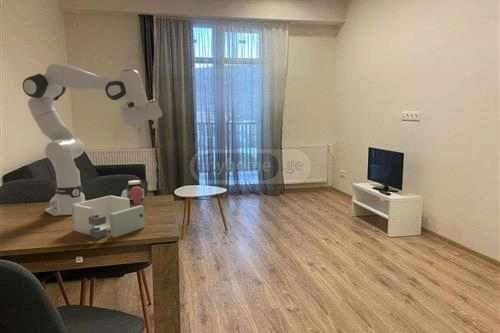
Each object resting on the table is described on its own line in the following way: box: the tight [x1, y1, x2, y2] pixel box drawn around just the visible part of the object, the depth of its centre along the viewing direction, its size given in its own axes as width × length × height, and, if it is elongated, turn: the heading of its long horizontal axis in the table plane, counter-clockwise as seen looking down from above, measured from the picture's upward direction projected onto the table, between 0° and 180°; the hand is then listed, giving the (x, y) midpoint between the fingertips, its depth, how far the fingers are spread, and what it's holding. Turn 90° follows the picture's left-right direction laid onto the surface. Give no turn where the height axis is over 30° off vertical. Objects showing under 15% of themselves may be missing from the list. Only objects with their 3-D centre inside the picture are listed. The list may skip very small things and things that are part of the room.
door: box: [110, 204, 146, 238], centre depth 151 cm, size 3×16×10 cm, turn 147°
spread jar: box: [120, 179, 145, 202], centre depth 207 cm, size 12×11×12 cm
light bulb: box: [130, 186, 144, 207], centre depth 191 cm, size 7×7×12 cm
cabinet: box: [71, 195, 131, 239], centre depth 156 cm, size 19×21×12 cm
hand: (147, 130), depth 171 cm, fingers open, 8 cm apart
